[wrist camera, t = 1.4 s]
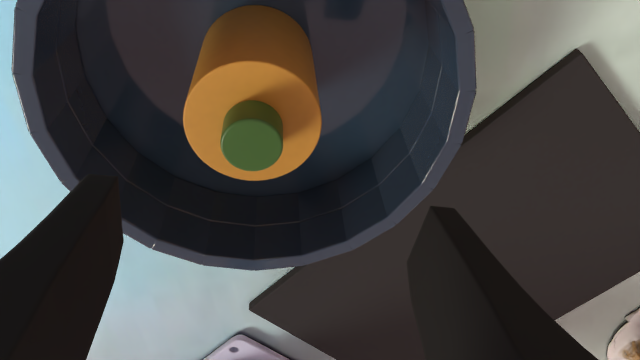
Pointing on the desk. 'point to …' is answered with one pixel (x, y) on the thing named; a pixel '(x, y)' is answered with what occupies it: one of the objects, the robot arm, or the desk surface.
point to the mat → (493, 221)
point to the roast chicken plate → (626, 340)
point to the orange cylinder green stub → (254, 96)
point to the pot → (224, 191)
